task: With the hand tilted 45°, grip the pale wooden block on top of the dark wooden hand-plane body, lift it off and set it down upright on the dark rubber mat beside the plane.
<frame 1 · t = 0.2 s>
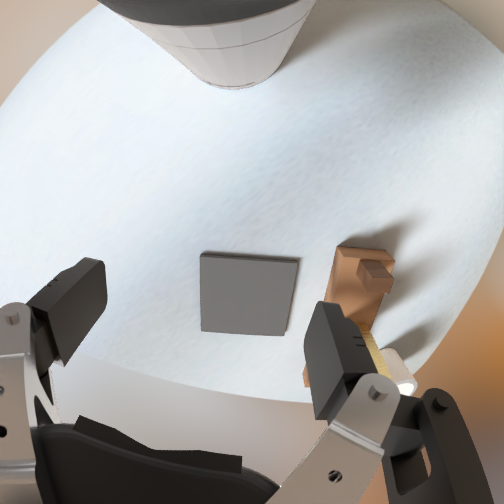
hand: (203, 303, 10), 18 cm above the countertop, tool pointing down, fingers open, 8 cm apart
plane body: (341, 321, 33), on the countertop
pale wooden block: (346, 334, 31), point 2 cm above the countertop, touching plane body
white cup: (380, 360, 37), on the countertop
mat: (245, 297, 31), on the countertop
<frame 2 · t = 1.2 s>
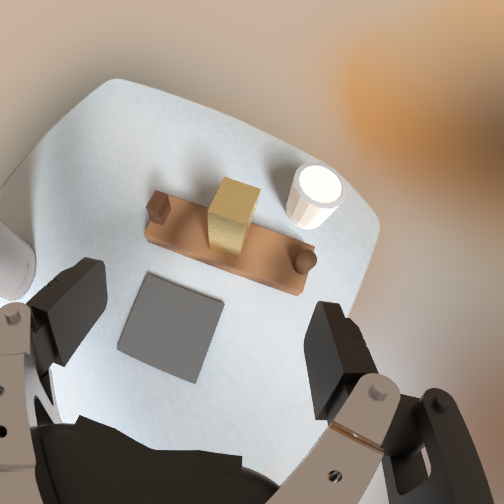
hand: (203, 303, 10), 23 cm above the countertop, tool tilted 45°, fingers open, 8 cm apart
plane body: (228, 247, 36), on the countertop
pale wooden block: (229, 239, 33), point 2 cm above the countertop, touching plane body
white cup: (304, 211, 39), on the countertop
mat: (169, 328, 31), on the countertop
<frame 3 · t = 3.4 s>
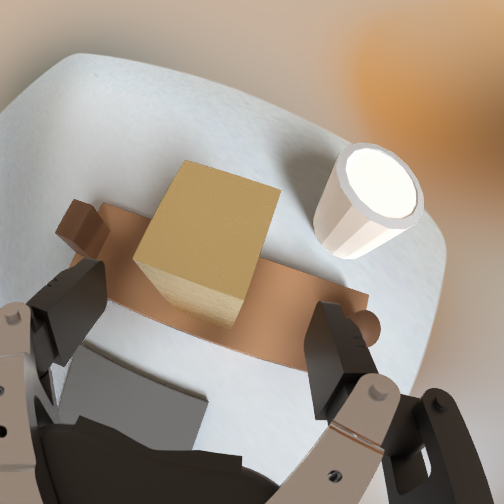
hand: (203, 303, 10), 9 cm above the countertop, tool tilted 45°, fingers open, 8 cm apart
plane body: (214, 298, 19), on the countertop
pale wooden block: (213, 289, 17), point 2 cm above the countertop, touching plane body
white cup: (343, 228, 23), on the countertop
mat: (120, 433, 15), on the countertop
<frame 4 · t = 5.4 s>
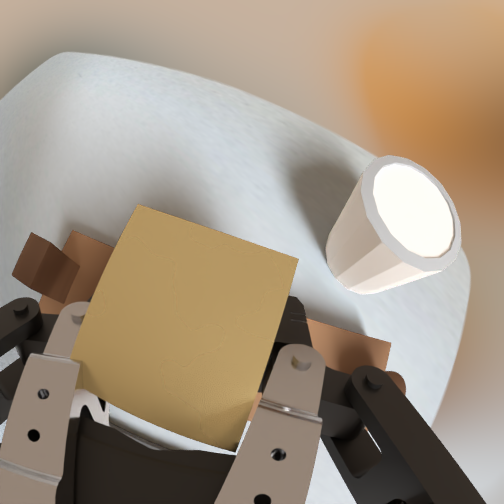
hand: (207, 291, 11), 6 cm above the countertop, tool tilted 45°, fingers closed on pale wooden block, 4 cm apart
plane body: (206, 346, 16), on the countertop
pale wooden block: (203, 345, 13), point 3 cm above the countertop, touching gripper, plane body
white cup: (360, 256, 19), on the countertop
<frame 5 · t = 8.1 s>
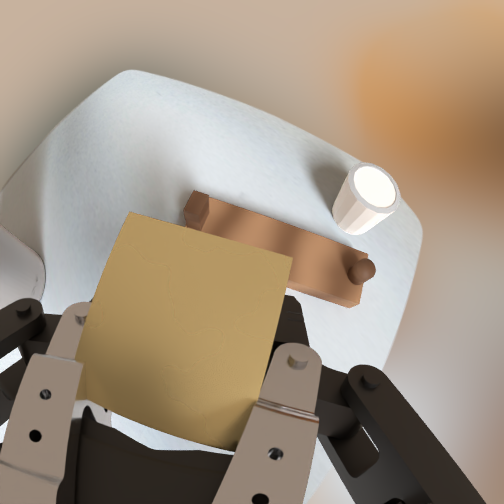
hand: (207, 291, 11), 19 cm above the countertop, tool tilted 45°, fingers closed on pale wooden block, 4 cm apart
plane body: (274, 256, 32), on the countertop
pale wooden block: (203, 346, 13), point 15 cm above the countertop, touching gripper
white cup: (351, 216, 35), on the countertop
when the fingers open (6 cm above the countertop, at t = 11.1 s): pale wooden block drops 1 cm, resting on mat.
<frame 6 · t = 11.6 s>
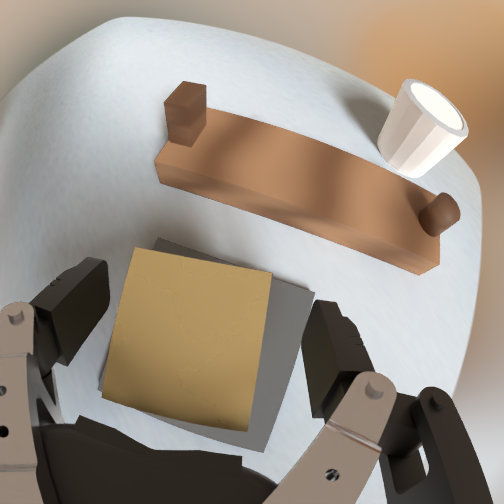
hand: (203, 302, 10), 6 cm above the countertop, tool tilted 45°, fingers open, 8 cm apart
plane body: (307, 193, 20), on the countertop
pale wooden block: (204, 349, 15), point 1 cm above the countertop, touching mat
white cup: (401, 155, 23), on the countertop
mat: (205, 346, 15), on the countertop
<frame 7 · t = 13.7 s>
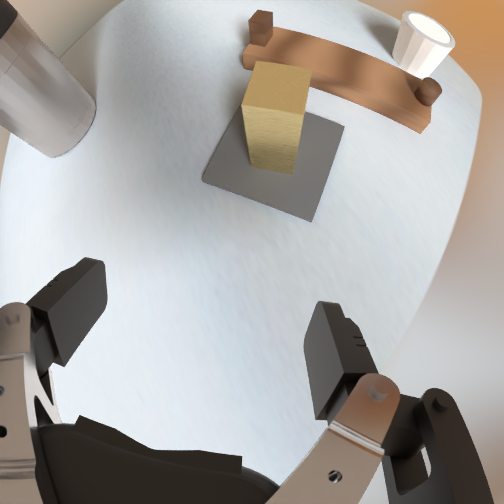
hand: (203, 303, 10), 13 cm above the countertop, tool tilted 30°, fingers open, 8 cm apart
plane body: (340, 77, 25), on the countertop
pale wooden block: (276, 150, 24), point 1 cm above the countertop, touching mat
white cup: (411, 63, 25), on the countertop
mat: (276, 152, 24), on the countertop
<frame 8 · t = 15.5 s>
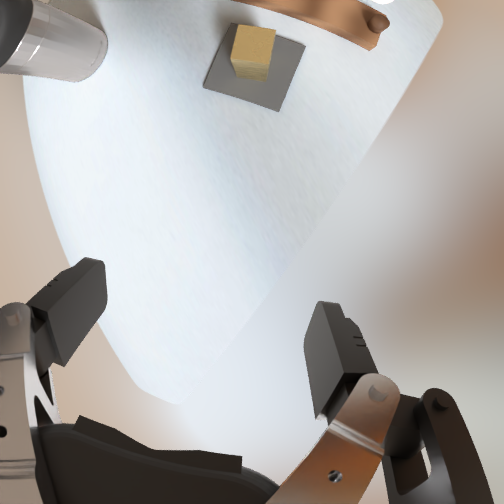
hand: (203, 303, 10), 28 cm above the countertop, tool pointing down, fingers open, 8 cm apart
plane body: (307, 4, 26), on the countertop
pale wooden block: (254, 65, 29), point 1 cm above the countertop, touching mat
mat: (254, 65, 30), on the countertop
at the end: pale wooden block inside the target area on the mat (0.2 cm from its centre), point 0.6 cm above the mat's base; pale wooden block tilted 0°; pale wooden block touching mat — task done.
